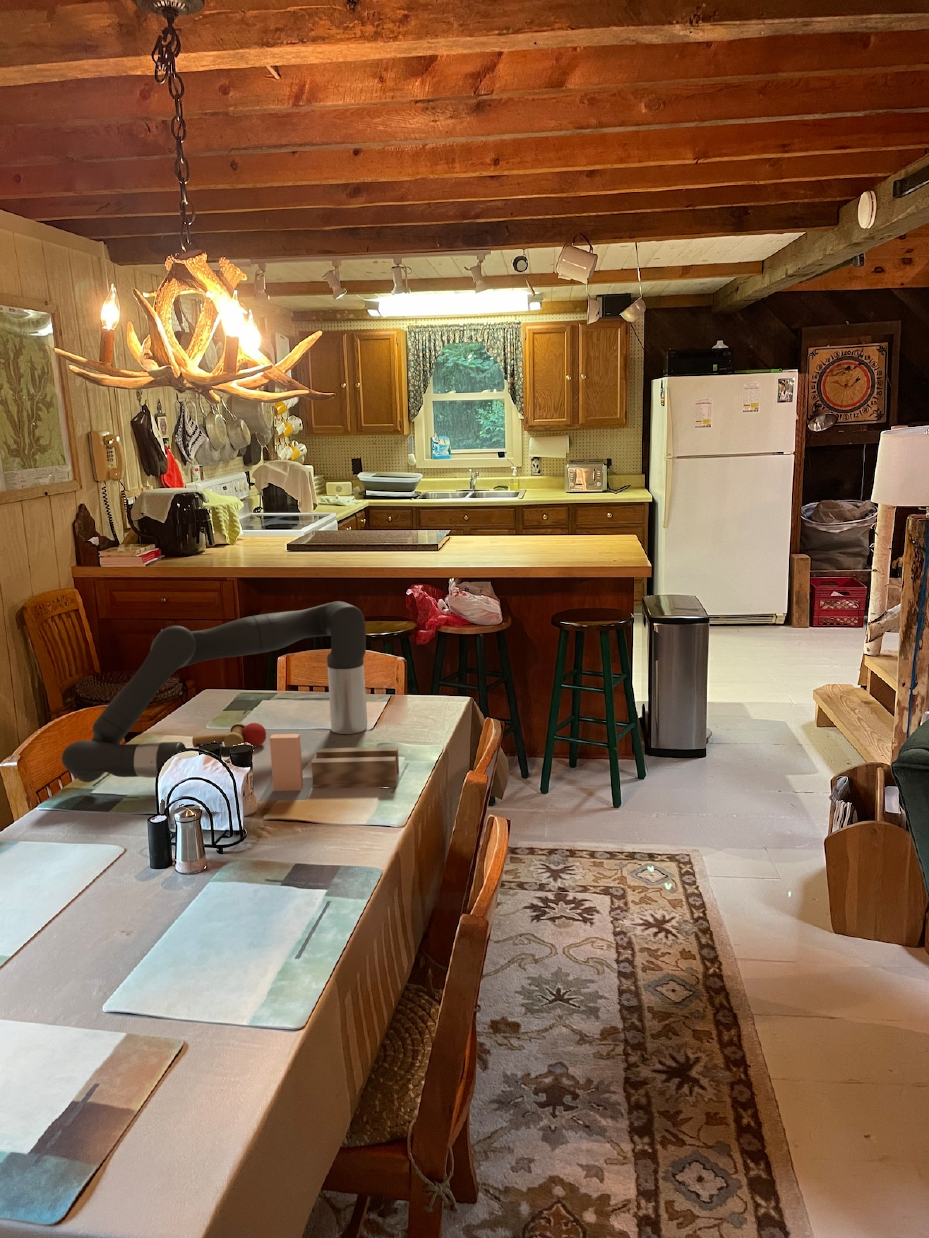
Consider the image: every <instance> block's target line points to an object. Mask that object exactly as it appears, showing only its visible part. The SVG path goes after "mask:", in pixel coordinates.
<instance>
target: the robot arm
mask: <svg viewBox="0 0 929 1238" xmlns="http://www.w3.org/2000/svg"><path fill="white" fill-rule="evenodd" d="M326 636H327V637H328V636H329V637H330V646H331V648H330V652H329V653H328V654H327V657H326V662H327V663H326V664H327V665H326V666H327V679H328V680H327V682H328V695H329V697H328V698H329V715H330V730H331V731H332V732H333V733H334V734H335V733H336V734H339V735H353V734H359V733H361V732H364V731H365V730H366V729H368V712H367V690H366V684H365V683H366V682H365V667H364V665H365V662H364V657H365V655H366V651H367V650H366V649H367V646H366V645H367V644H366V643H367V642H366V621H365V616H364V614H363V612H362V610H361V609H360V608H358V606H355V605H353V604H350V603H348V602H345V601H340V600H337V601H332V602H327V603H324V604H320V605H317V606H313V607H309V608H306V609H300V610H290V611H279V612H270V613H263V614H257V615H251V616H246V617H242V618H241V617H240V618H238V619H234V620H231V621H229V622H226V623H223V624H220V625H217V626H214V627H211V628H207V629H202V630H192V631H191V630H190V629H189V628H186V627H184V626H181V625H172V626H167V627H165V628H163V629H162V630H161V631H159V632H158V633H157V635H156V636H155V638H154V639H153V640H152V643H151V645H150V649H149V650H150V651H149V653H148V655H147V656H146V658H145V660H144V662H142V664H141V666H140V667H139V668H138V669H137V671H136V672H135V673H134V674H133V676H132V677H131V678H130V679H129V680H128V681H127V683H126V684H125V685H124V686H123V687H122V688H121V690H119V692H118V693H117V694H116V695H115V696H114V698H113V699H112V700H111V701H110V702H109V703H108V705H106V707H105V708H104V710H103V711H102V712H101V714H100V715H99V716H98V717H97V718H96V719H95V721H94V723H93V725H92V732H93V737H92V739H91V740H90V739H89V740H87V739H86V740H85V739H84V740H79V741H74V742H72V743H71V744H69V745H68V746H67V747H66V748H64V750H63V752H62V754H61V762H62V765H63V766H64V768H65V769H66V770H67V771H68V772H69V773H70V774H71V775H73V776H74V777H75V778H76V779H77V780H78V781H80V782H83V783H90V782H91V783H92V782H95V781H96V780H98V779H99V778H100V777H102V776H103V775H104V774H105V773H107V774H110V775H112V776H115V777H117V778H139V777H140V778H148V779H149V778H150V779H151V778H152V779H153V778H155V779H156V777H157V774H158V770H159V768H160V767H161V765H162V763H164V762H165V760H167V759H168V757H170V756H172V755H173V754H175V753H178V752H180V751H183V750H185V749H187V747H186V745H185V744H184V743H183V742H182V741H165V742H163V741H161V742H160V741H159V742H154V741H153V742H146V743H129V744H128V743H127V744H126V743H125V744H124V743H123V744H121V743H122V741H123V739H124V738H125V737H126V736H127V734H128V733H129V732H130V731H131V730H132V728H133V727H134V725H135V724H136V722H137V721H138V720H139V718H140V717H141V716H142V714H143V713H144V711H146V709H147V707H148V705H149V704H150V702H151V701H152V700H153V699H154V697H155V696H156V694H157V693H158V692H159V691H160V689H161V688H162V686H163V685H164V684H165V683H166V681H167V680H168V679H169V678H170V677H172V675H173V674H174V673H175V672H176V671H178V669H181V668H184V667H188V666H190V665H191V666H192V665H194V664H198V663H202V662H206V661H209V660H216V659H221V658H222V659H223V658H234V657H235V658H236V657H242V656H250V655H257V654H263V653H269V652H272V651H277V650H278V651H279V650H280V649H283V648H286V647H288V646H290V645H292V644H294V643H296V642H298V641H301V640H304V639H309V638H314V637H326ZM211 743H217V744H219V745H220V746H221V756H222V757H221V758H226V757H227V758H228V757H230V749H232V748H233V747H234V746H225V745H224V742H209V743H196V744H195V746H196V747H195V748H194V747H192V748H191V749H199V747H200V746H203V745H207V744H211ZM230 758H231V757H230ZM223 760H224V761H225V762H227V763H231V761H230V760H228V759H223Z"/></svg>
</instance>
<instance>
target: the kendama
mask: <svg viewBox="0 0 929 1238" xmlns="http://www.w3.org/2000/svg"><path fill="white" fill-rule="evenodd" d="M266 739H267V731H266V728H265V727H264V726H263V725H262V724H260V723H259V722H258V723H257V722H250V723H248V724H245V723H242V722H237V723H233V725H232V726H231V727H230V732H229V733H227V734H226V733H225V734H224V733H223V734H206V735H194V736H192V740H191V741H192V746H193V748H194V747H196V746H195V744H196V743H209V742H214V741H215V742H223V746H233V745H238V744H241V743H244V744H245V742H248V743H250V744H251V745H253V746H254V747H253V748H257V746H258V747H259V746H262V745H263V744H264V743H265V742H266ZM255 746H256V747H255Z"/></svg>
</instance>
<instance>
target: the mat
mask: <svg viewBox="0 0 929 1238" xmlns="http://www.w3.org/2000/svg"><path fill="white" fill-rule="evenodd" d="M312 789H313V777H303V788H302V790H296V791H274V789H273V777H271V778H270V781H269V783H268V784H267V785H266V787H265V789H264V791H263V793H262V795H261V797H260V799H259V802H261V801H296V800H297V801H298V800H299V801H301V800H304V801H305V800H308V797H309V795H310V792H311V791H312Z"/></svg>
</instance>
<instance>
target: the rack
mask: <svg viewBox="0 0 929 1238" xmlns="http://www.w3.org/2000/svg"><path fill="white" fill-rule="evenodd" d="M315 755H316V758H313V759H312V761H311V775H312V777H313V786H312V789H343V788H347V789H349V788H350V789H351V788H380V787H396V788H397V786H396V784H397V785H398V781H397V780H399V776H398V774H399V775H400V764H399V763H400V761H399V747H398V746H370V747H369V746H367V747H363V746H362V747H335V748H334V747H333V748H332V747H331V748H330V747H329V748H328V747H327V748H317V750H316V753H315Z"/></svg>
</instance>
